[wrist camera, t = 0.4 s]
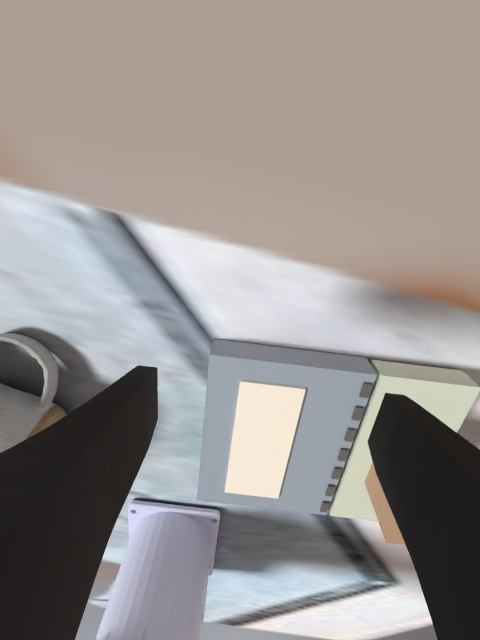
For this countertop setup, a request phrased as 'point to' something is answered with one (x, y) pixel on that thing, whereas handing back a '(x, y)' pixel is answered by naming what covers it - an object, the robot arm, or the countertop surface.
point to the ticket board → (279, 424)
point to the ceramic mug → (28, 398)
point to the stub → (359, 473)
